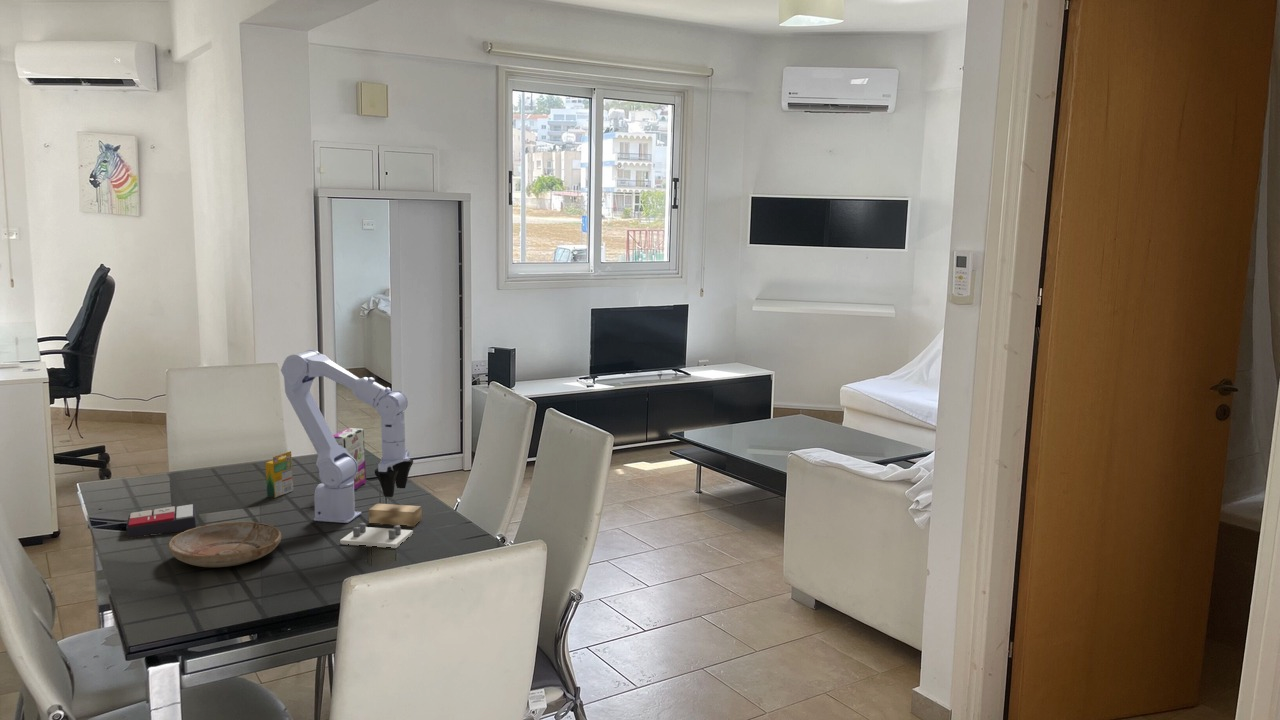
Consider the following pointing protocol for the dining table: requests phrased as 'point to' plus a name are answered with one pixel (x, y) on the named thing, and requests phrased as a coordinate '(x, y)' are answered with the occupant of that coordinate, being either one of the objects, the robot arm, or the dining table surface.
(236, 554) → the ceramic bowl
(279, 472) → the crayon box
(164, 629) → the dining table surface
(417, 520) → the tan rectangular block
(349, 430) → the candy bar box
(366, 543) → the peg stand
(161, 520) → the black box with panels
